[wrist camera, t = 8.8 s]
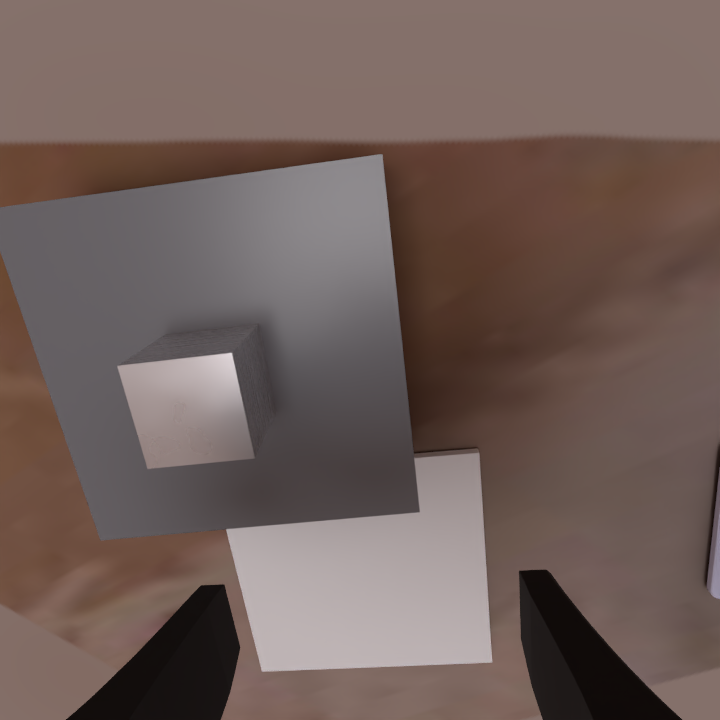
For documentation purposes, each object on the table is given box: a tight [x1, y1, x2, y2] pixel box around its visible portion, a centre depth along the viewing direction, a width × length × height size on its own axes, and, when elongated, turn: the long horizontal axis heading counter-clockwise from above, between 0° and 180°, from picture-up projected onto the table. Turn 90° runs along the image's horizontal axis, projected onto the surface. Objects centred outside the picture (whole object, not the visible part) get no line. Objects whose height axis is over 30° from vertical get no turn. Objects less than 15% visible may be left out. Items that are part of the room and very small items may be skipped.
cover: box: [0, 154, 420, 540], centre depth 17 cm, size 12×12×8 cm
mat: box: [226, 448, 492, 672], centre depth 24 cm, size 12×12×1 cm
